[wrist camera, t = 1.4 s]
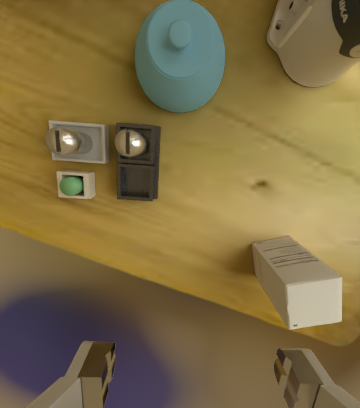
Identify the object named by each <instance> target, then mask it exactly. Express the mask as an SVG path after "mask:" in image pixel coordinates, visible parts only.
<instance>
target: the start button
mask: <svg viewBox="0 0 360 408" xmlns="http://www.w3.org/2000/svg"><path fill="white" fill-rule="evenodd" d="M59 187H60V190H61V192H62V193H63V194H65V195H67V196H73V195H75V194H78V193H80V192H82V191H83V190H84V182H83V180H82V179H81V178H80V177H78V176H72V177H68V178H64V179H62V180H61V182H60V185H59Z"/></svg>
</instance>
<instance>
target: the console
mask: <svg viewBox="0 0 360 408" xmlns="http://www.w3.org/2000/svg"><path fill="white" fill-rule="evenodd" d="M56 174H57V185H58V195H59V197H65V198H79V199H91V198H93V197H95V196H96V187H95V172H89V171H75V170H61V171H56ZM71 175H77V176H83V182H84V193H82V192H80V193H78V194H75V195H73V196H67V195H65V194H63V193H62V192H61V190H60V187H59V185H60V182H61V180H62V179H64V178H68V177H71Z"/></svg>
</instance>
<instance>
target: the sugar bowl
mask: <svg viewBox="0 0 360 408" xmlns="http://www.w3.org/2000/svg"><path fill="white" fill-rule="evenodd" d="M224 67H225V45H224V40H223V36H222V33H221V31H220V28H219V26H218V24H217V22H216V21H215V19H214V18H213V16H212V15H211V14H210V13H209V12H208V11H207V10H206V9H205V8H204V7H202V6H201V5H200V4H198V3H196V2H193V1H190V0H170V1H167V2H164V3H163V4H161V5H159V6H158V7H156V8H155V9H154V10H153V11H152V12H151V13H150V14H149V15H148V16H147V18H146V19H145V20H144V22H143V24H142V26H141V28H140V31H139V33H138V36H137V40H136V45H135V68H136V73H137V77H138V80H139V82H140V85H141V87H142V89H143V91H144V92H145V94H146V95H147V96H148V98H149V99H150V100H151V101H152V102H153V103H154V104H156V105H157V106H159V107H160V108H162V109H164V110H167V111H170V112H176V113H184V112H190V111H193V110H196V109H198V108H200V107H201V106H203V105H204V104H206V103H207V102H208V101H209V100H210V99H211V98H212V97H213V95H214V94H215V92H216V91H217V89H218V87H219V85H220V83H221V80H222V77H223V73H224Z"/></svg>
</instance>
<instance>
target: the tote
mask: <svg viewBox="0 0 360 408" xmlns="http://www.w3.org/2000/svg"><path fill="white" fill-rule="evenodd" d="M51 128H62V129H68V130H73V131H79V132H84V133H86V134H88V135H89V136H90V137H91V139H92V142H93V147H92V149H91V151H90V152H88V153H85V154H62V155H59V154H55V153H53V152H52V160H60V161H74V162H88V163H101V164H107V163H109V126H107V125H103V124H90V123H77V122H64V121H51V120H49V129H51Z"/></svg>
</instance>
